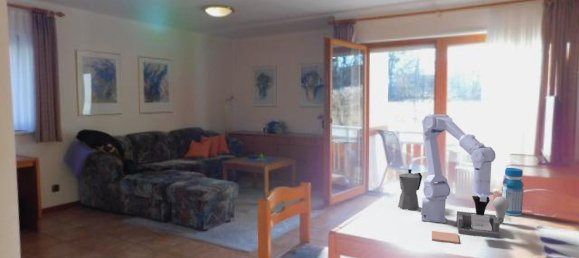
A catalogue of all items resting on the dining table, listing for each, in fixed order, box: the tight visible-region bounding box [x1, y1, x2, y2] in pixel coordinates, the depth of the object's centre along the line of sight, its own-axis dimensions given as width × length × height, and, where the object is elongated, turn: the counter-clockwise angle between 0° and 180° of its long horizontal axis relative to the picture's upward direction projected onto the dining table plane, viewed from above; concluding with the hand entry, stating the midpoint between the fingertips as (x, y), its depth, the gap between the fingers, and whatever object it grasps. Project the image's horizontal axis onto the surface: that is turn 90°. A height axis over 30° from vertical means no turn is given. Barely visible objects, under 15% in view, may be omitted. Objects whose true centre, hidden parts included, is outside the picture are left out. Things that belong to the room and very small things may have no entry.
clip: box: [471, 214, 492, 232], centre depth 146 cm, size 6×8×3 cm
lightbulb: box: [492, 195, 510, 224], centre depth 166 cm, size 6×6×11 cm
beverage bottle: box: [501, 167, 525, 217], centre depth 180 cm, size 8×8×20 cm
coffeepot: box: [397, 168, 423, 211], centre depth 188 cm, size 15×9×18 cm, turn 125°
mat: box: [431, 230, 460, 245], centre depth 148 cm, size 9×9×1 cm
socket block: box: [455, 210, 501, 239], centre depth 157 cm, size 14×13×5 cm
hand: (479, 216), depth 150 cm, fingers closed
